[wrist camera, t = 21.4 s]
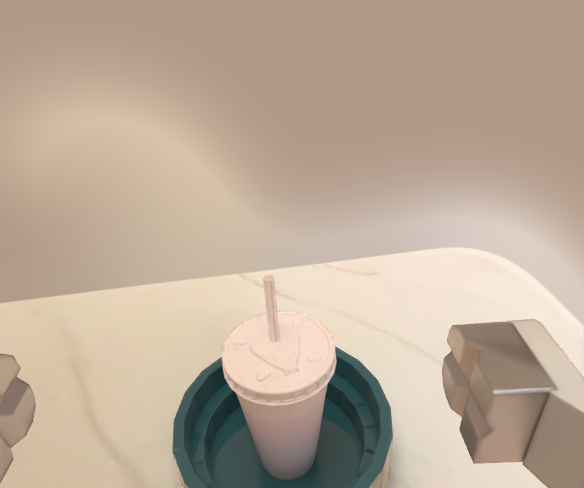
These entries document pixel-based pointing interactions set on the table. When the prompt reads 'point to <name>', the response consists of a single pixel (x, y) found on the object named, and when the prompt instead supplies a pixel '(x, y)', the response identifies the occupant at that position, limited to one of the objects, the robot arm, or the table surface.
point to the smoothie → (281, 383)
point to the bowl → (243, 453)
